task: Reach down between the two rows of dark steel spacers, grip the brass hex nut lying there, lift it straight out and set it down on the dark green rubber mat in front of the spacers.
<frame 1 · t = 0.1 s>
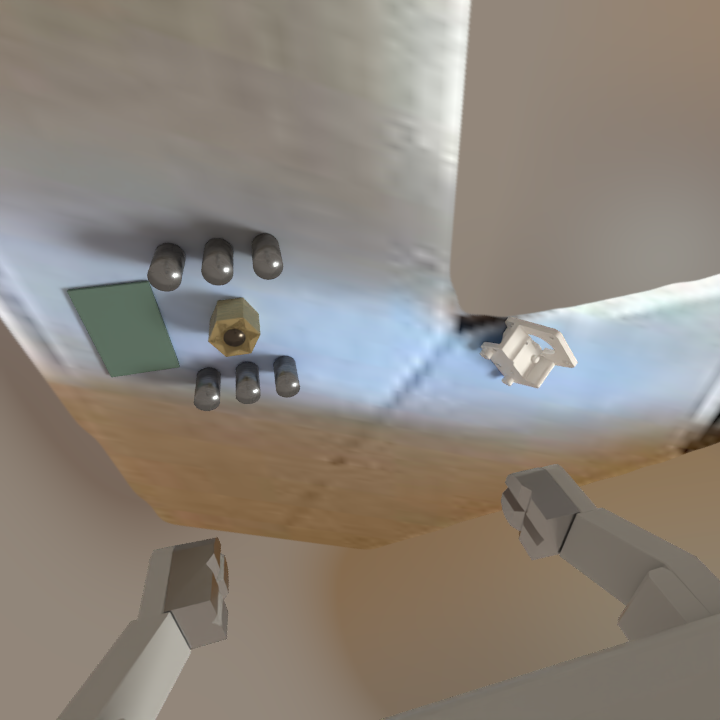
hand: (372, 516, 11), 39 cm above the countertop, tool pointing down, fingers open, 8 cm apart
mounting bracket: (512, 342, 65), on the countertop
brass nut: (234, 316, 50), on the countertop
rubber mat: (129, 330, 48), on the countertop
spacer rows: (234, 317, 50), on the countertop
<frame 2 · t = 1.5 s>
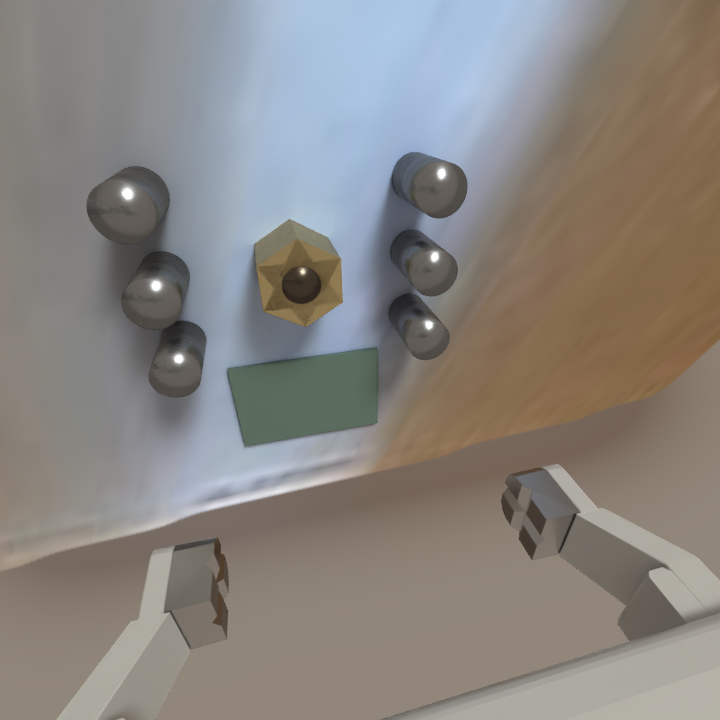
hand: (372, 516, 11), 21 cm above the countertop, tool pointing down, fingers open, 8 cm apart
brass nut: (294, 261, 29), on the countertop
rubber mat: (308, 396, 35), on the countertop
spacer rows: (294, 261, 29), on the countertop
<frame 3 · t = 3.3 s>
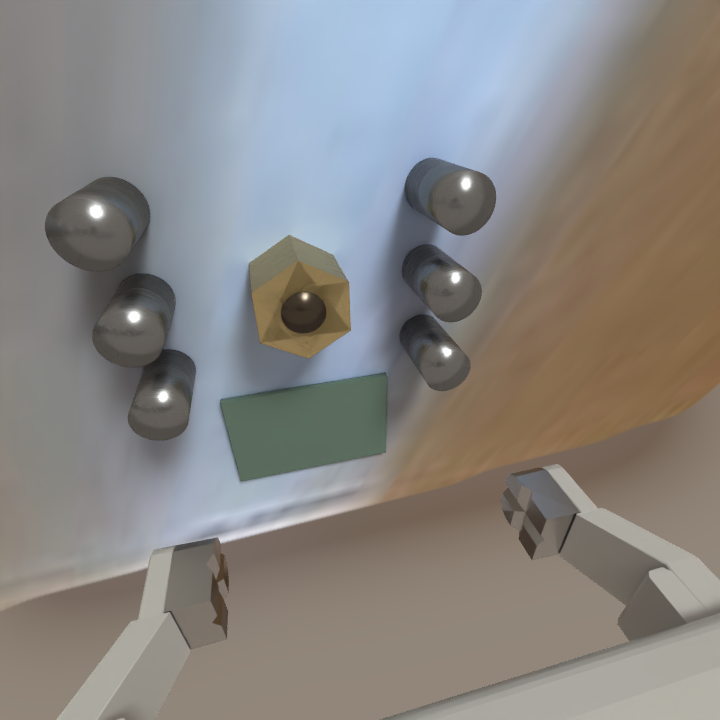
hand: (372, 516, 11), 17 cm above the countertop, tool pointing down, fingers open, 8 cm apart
brass nut: (294, 281, 25), on the countertop
rubber mat: (311, 426, 32), on the countertop
spacer rows: (294, 281, 25), on the countertop
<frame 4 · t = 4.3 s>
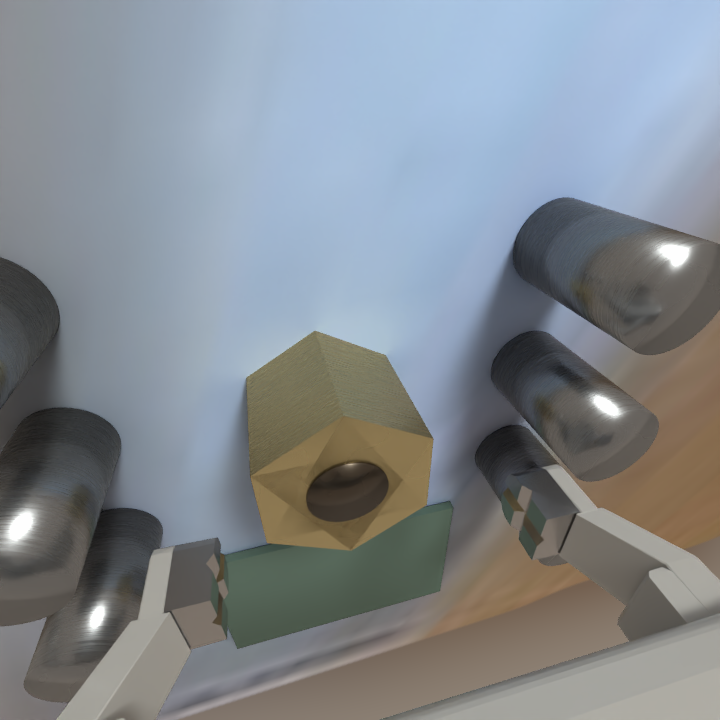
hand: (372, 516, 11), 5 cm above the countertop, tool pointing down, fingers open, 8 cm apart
brass nut: (321, 397, 15), on the countertop
rubber mat: (338, 574, 22), on the countertop
spacer rows: (321, 398, 15), on the countertop
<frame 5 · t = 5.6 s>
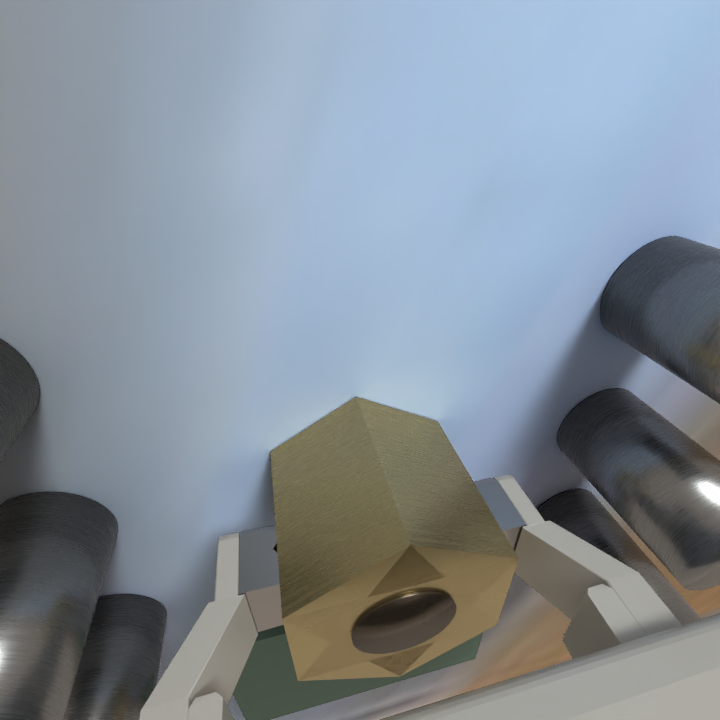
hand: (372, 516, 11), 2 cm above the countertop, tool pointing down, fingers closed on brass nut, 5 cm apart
brass nut: (358, 470, 13), on the countertop, touching gripper
rubber mat: (364, 646, 19), on the countertop
spacer rows: (358, 470, 13), on the countertop
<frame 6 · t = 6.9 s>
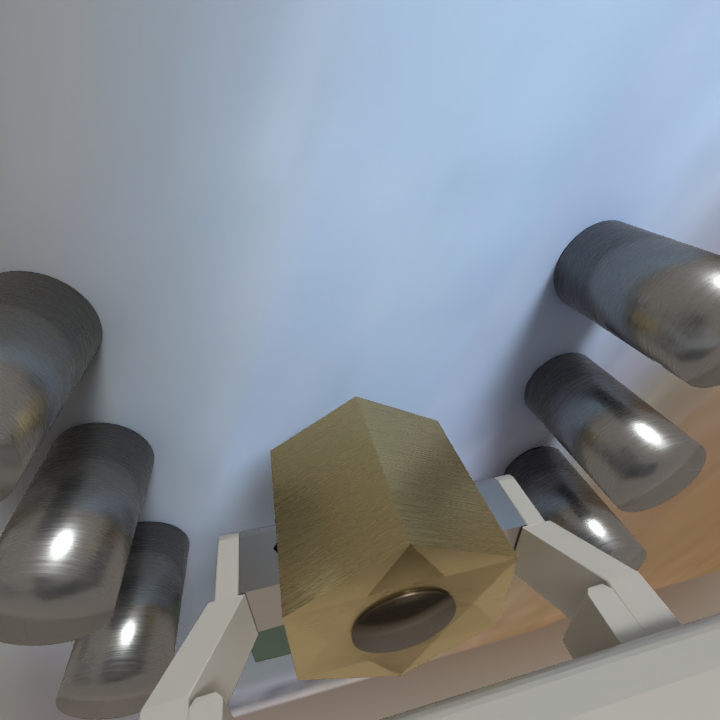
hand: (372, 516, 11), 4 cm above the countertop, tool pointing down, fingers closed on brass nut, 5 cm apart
brass nut: (358, 469, 13), point 3 cm above the countertop, touching gripper
rubber mat: (359, 591, 22), on the countertop
spacer rows: (353, 417, 15), on the countertop
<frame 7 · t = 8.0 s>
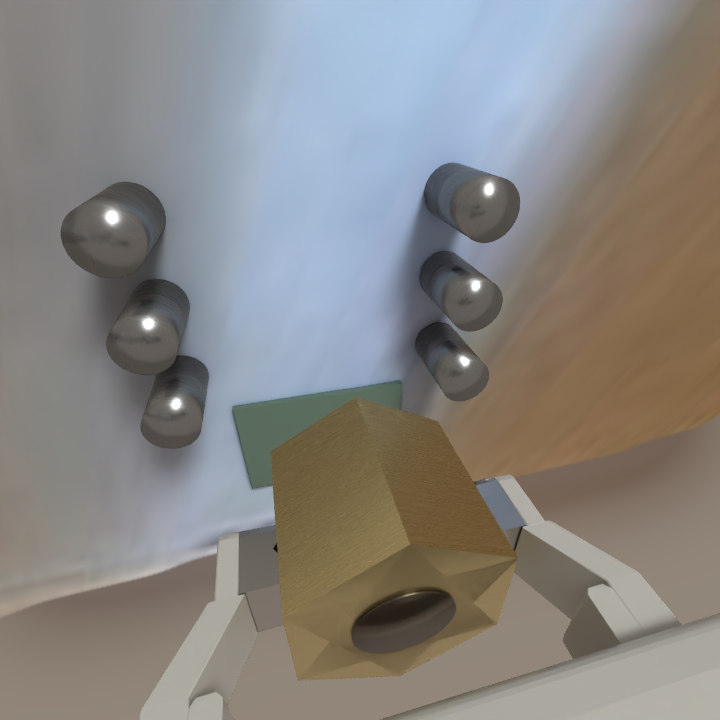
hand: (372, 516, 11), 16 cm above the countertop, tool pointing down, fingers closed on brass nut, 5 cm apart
brass nut: (358, 469, 13), point 15 cm above the countertop, touching gripper
rubber mat: (323, 434, 31), on the countertop
spacer rows: (309, 288, 25), on the countertop
when the fingers open (3 cm above the countertop, at t = 13.1 s): brass nut drops 1 cm, resting on rubber mat.
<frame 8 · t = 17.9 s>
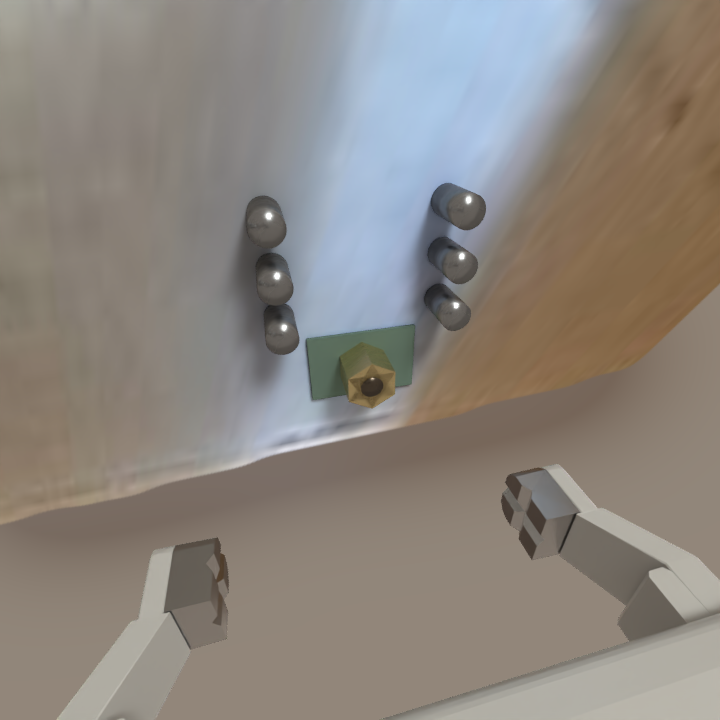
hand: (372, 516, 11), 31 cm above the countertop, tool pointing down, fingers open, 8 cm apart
brass nut: (361, 363, 46), resting on rubber mat
rubber mat: (362, 362, 47), on the countertop
spacer rows: (359, 259, 40), on the countertop
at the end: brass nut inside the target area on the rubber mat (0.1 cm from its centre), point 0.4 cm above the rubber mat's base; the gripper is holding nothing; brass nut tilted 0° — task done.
